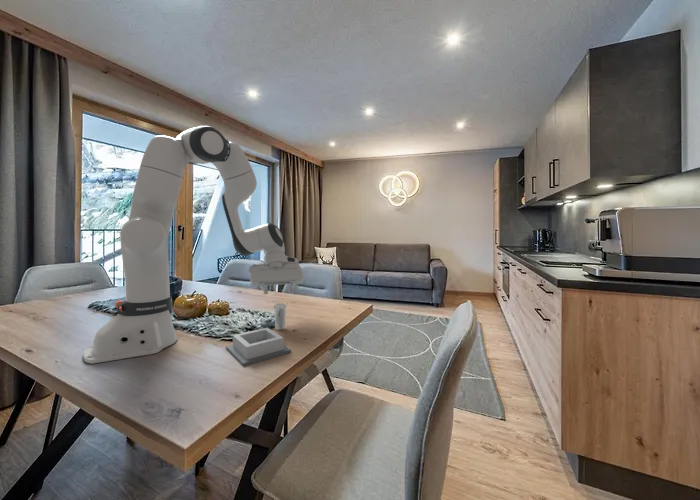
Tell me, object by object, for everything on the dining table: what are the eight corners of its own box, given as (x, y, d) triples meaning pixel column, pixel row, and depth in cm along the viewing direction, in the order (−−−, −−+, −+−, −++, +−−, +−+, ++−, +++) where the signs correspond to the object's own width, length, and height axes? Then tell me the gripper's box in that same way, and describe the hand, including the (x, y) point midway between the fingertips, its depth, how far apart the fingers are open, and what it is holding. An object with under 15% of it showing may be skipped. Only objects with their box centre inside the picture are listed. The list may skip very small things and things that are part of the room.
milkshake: (285, 331, 103) (285, 303, 103) (271, 330, 104) (271, 302, 104) (290, 327, 108) (290, 300, 107) (277, 326, 109) (276, 299, 108)
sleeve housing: (243, 366, 77) (242, 350, 77) (226, 348, 88) (225, 334, 88) (290, 352, 86) (290, 338, 86) (270, 338, 97) (270, 325, 97)
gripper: (248, 259, 115) (249, 289, 106) (301, 258, 122) (306, 286, 113) (248, 269, 119) (249, 299, 111) (299, 267, 126) (303, 295, 118)
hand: (278, 292), depth 112 cm, fingers open, 8 cm apart
